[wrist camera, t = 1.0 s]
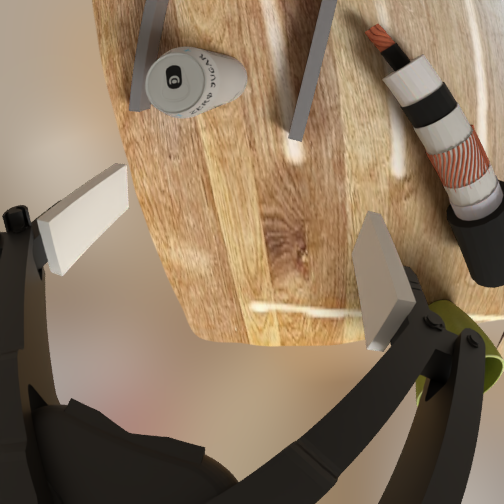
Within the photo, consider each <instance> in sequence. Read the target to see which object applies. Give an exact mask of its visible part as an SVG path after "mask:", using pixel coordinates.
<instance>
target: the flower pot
mask: <svg viewBox="0 0 504 504" xmlns="http://www.w3.org/2000/svg"><path fill="white" fill-rule="evenodd" d="M428 306H429V309H430V310H431V311H433V312H435V313H436V314H438V315H439V316H440V317H441V318H442V320H443V321H444V323H445V327H446V330H448V331H450V332H452V333H454V334H457V335H459V334H460V333H461V332H462V330H464V329H465V328H470V329H473V330H475V331H476V332H478V333H479V334H480V335H481V336H482V338H483V340H484V342H485V347H486V350H485V378H484V391H483V394H484V393H485V392H487V391H488V390H489V389H490V388H491V387H492V386H493V385H494V384H495V383H496V381H497V380H498V379H499V377H500V376H501V374H502V372H503V370H504V360H503V359H502V357H501V355H500V354H499V352H498V350H497V349H496V347H495V346H494V345H493V343H492V342H491V340H490V339H489V338H488V336H487V335H486V334H485V333H484V332H483V330H482V329H481V328H480V327H479V326H478V325H477V324H476V323H475V322H474V321H473V320H472V319H471V318H470V317H469V316H468V315H467V314H466V313H465V312H464V311H462V310H461V309H460V308H459V307H457V306H456V305H455V304H453V303H452V302H450V301H448V300H439V301H436V302H433V303H432V304H430V305H428ZM425 380H426V377H424V376H422V375H419V376H418V378H417V380H416V402H417V403H416V404H417V407H418V404H419V401H420V398H421V394H422V391H423V387H424V384H425Z"/></svg>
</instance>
